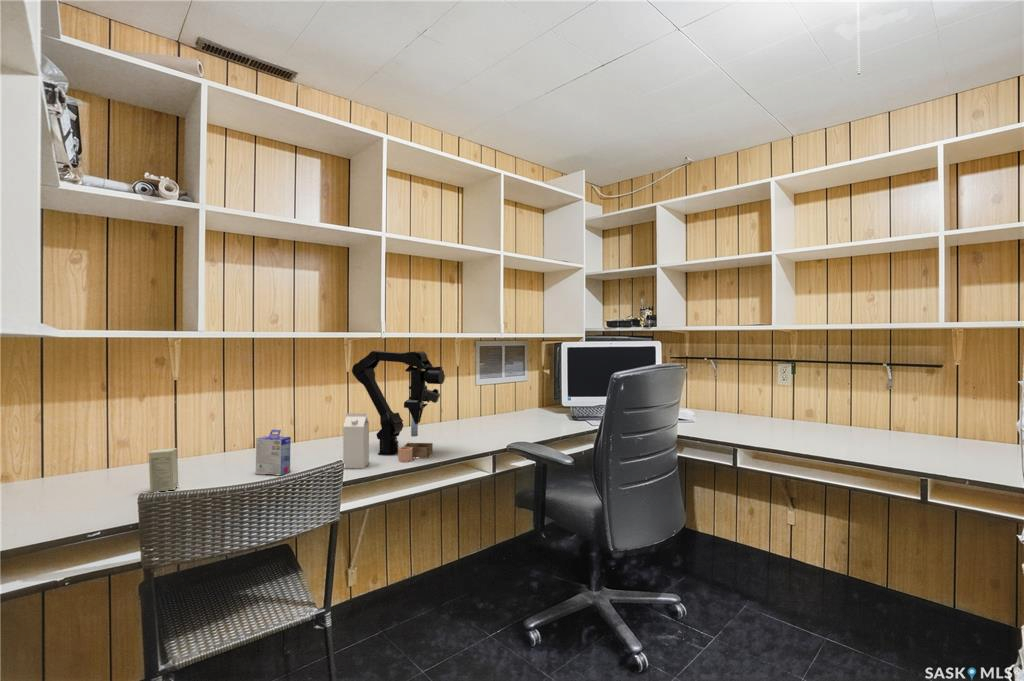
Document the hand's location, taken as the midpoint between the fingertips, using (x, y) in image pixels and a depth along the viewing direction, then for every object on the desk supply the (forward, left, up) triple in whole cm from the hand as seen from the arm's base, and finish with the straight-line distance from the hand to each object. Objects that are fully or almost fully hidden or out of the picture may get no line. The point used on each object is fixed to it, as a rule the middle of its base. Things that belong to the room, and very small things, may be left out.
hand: (417, 423), depth 195 cm
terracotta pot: (-3, -8, -13) cm, 15 cm away
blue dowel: (-1, 0, -6) cm, 6 cm away
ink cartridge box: (-43, -27, -13) cm, 53 cm away
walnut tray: (0, 0, -13) cm, 13 cm away
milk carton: (-18, -17, -13) cm, 28 cm away
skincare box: (-67, -46, -13) cm, 82 cm away
